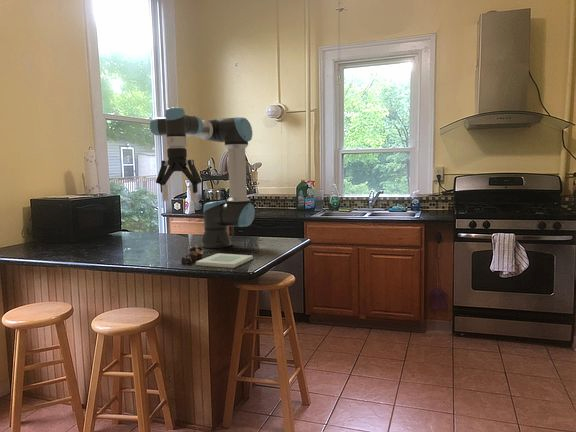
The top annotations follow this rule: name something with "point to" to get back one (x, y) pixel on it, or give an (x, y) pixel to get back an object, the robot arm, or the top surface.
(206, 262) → the baseplate
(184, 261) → the toy
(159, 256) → the top surface
